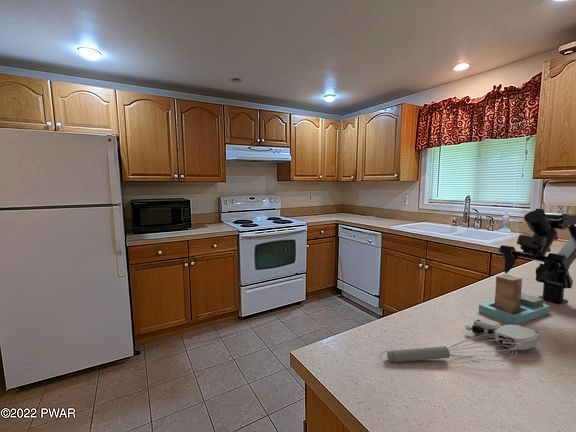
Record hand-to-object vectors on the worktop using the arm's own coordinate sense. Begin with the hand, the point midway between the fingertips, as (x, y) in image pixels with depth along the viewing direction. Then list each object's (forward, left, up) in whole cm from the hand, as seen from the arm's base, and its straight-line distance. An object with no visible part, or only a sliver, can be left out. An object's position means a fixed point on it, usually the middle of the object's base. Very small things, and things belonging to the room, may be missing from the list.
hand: (520, 276), depth 96 cm
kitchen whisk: (+46, +9, -13) cm, 49 cm away
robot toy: (+25, +9, -13) cm, 29 cm away
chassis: (+2, 0, -12) cm, 13 cm away
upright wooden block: (+6, 0, -12) cm, 14 cm away
